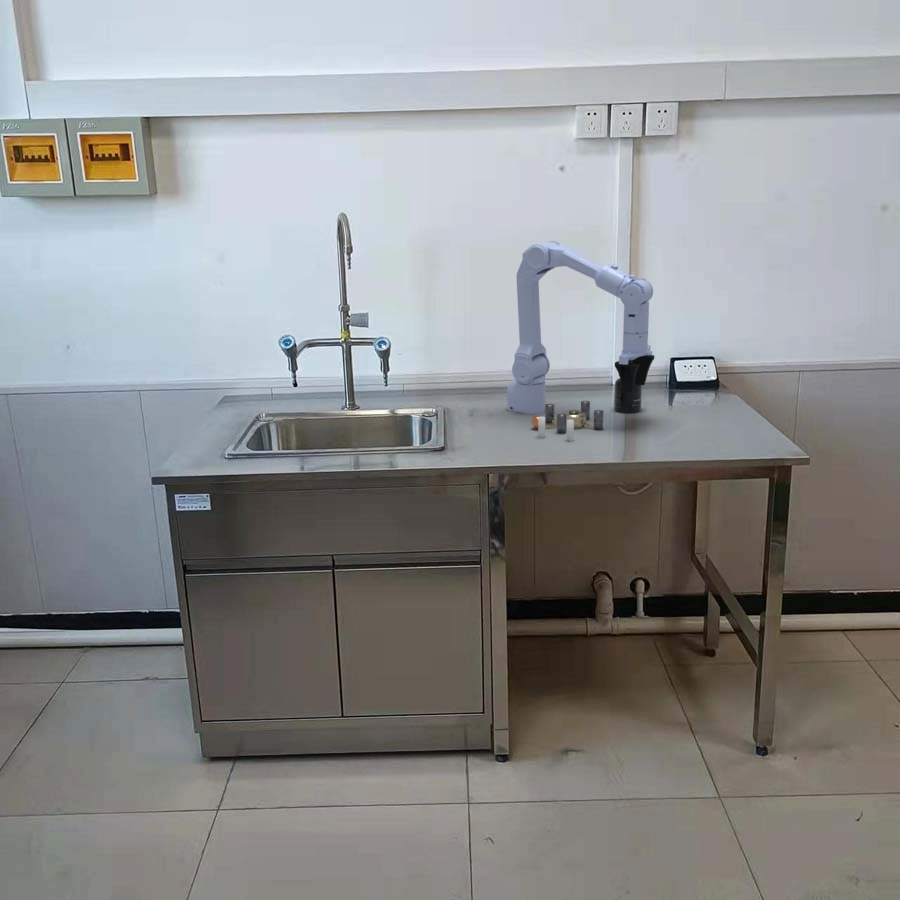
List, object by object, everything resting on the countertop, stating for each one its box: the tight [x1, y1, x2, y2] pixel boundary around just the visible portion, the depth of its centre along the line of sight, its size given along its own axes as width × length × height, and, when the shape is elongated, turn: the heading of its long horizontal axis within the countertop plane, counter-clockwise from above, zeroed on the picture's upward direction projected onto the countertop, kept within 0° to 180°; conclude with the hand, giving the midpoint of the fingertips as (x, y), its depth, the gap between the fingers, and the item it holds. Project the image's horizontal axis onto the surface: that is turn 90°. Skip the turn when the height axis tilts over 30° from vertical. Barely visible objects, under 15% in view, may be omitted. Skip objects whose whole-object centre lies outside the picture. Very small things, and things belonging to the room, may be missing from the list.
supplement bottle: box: [613, 375, 643, 415], centre depth 225 cm, size 7×7×12 cm
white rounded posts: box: [537, 415, 575, 442], centre depth 206 cm, size 9×6×5 cm
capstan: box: [531, 400, 604, 435], centre depth 214 cm, size 16×16×4 cm
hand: (634, 388), depth 212 cm, fingers open, 7 cm apart
